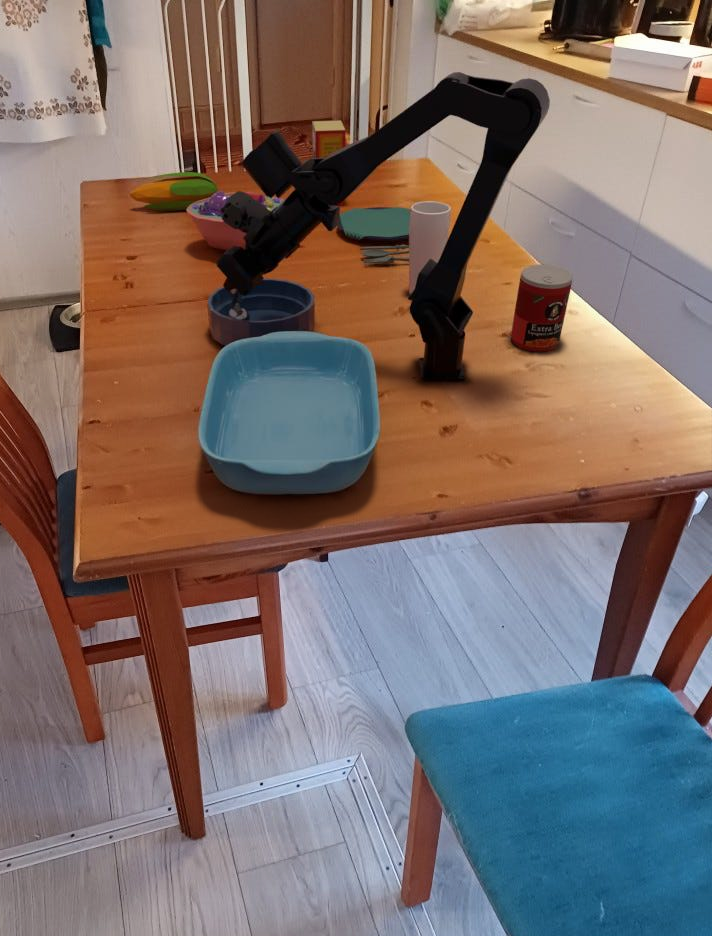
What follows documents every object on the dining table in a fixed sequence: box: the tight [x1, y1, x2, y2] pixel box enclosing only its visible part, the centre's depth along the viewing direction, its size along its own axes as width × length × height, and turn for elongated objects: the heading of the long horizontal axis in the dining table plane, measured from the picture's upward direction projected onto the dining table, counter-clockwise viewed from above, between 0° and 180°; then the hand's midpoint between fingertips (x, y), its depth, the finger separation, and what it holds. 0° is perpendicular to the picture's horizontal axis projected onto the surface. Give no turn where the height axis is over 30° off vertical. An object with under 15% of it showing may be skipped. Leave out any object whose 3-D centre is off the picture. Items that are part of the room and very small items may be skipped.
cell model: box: [186, 190, 285, 252], centre depth 155 cm, size 17×20×11 cm
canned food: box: [510, 264, 574, 353], centre depth 121 cm, size 8×8×11 cm
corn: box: [129, 171, 219, 212], centre depth 176 cm, size 7×8×20 cm
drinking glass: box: [408, 200, 452, 295], centre depth 135 cm, size 7×7×15 cm
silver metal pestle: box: [226, 289, 250, 321], centre depth 123 cm, size 4×4×11 cm
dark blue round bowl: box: [206, 278, 316, 347], centre depth 127 cm, size 17×17×6 cm
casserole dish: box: [197, 331, 381, 495], centre depth 102 cm, size 37×22×7 cm, turn 179°
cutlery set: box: [337, 206, 411, 265], centre depth 160 cm, size 20×30×2 cm, turn 3°
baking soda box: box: [311, 119, 346, 207], centre depth 177 cm, size 10×6×16 cm
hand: (228, 285), depth 122 cm, fingers closed on silver metal pestle, 2 cm apart
